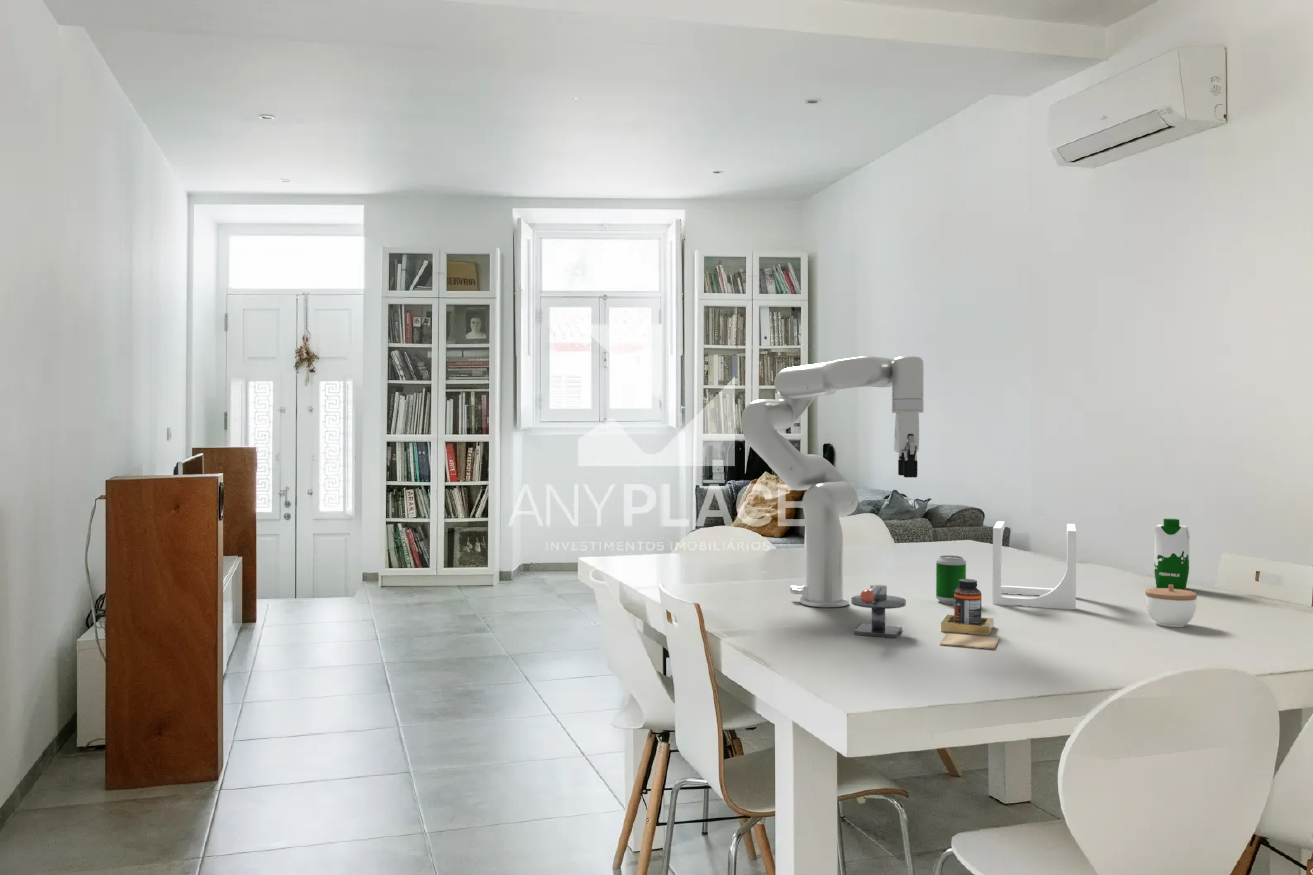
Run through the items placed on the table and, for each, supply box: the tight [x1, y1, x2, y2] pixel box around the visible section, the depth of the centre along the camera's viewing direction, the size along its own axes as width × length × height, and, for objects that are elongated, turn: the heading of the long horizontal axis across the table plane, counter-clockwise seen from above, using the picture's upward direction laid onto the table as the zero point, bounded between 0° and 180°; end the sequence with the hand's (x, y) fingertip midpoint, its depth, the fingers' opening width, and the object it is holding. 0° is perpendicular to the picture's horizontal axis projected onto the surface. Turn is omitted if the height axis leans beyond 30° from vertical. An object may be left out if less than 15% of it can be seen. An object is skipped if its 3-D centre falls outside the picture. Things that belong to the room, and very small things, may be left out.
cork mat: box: [939, 632, 1000, 651], centre depth 212 cm, size 11×11×1 cm
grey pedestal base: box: [853, 608, 903, 639], centre depth 222 cm, size 9×9×6 cm
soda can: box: [935, 555, 967, 605], centre depth 260 cm, size 8×8×12 cm
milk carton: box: [1153, 518, 1190, 590], centre depth 282 cm, size 9×9×20 cm
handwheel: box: [850, 584, 907, 610], centre depth 218 cm, size 20×12×5 cm, turn 156°
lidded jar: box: [1145, 585, 1198, 628], centre depth 231 cm, size 11×11×9 cm
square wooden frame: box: [940, 614, 995, 636], centre depth 226 cm, size 10×10×2 cm
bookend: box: [992, 520, 1077, 610], centre depth 263 cm, size 20×20×20 cm
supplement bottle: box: [953, 578, 982, 625], centre depth 225 cm, size 6×6×11 cm
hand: (907, 476), depth 242 cm, fingers open, 9 cm apart
